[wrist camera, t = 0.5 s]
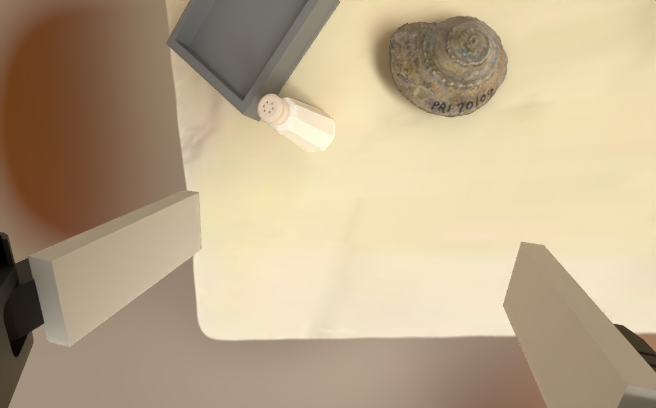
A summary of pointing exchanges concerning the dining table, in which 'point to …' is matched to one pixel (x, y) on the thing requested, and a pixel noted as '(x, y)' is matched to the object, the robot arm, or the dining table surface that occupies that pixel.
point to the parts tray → (248, 44)
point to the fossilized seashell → (448, 64)
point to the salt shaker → (298, 121)
